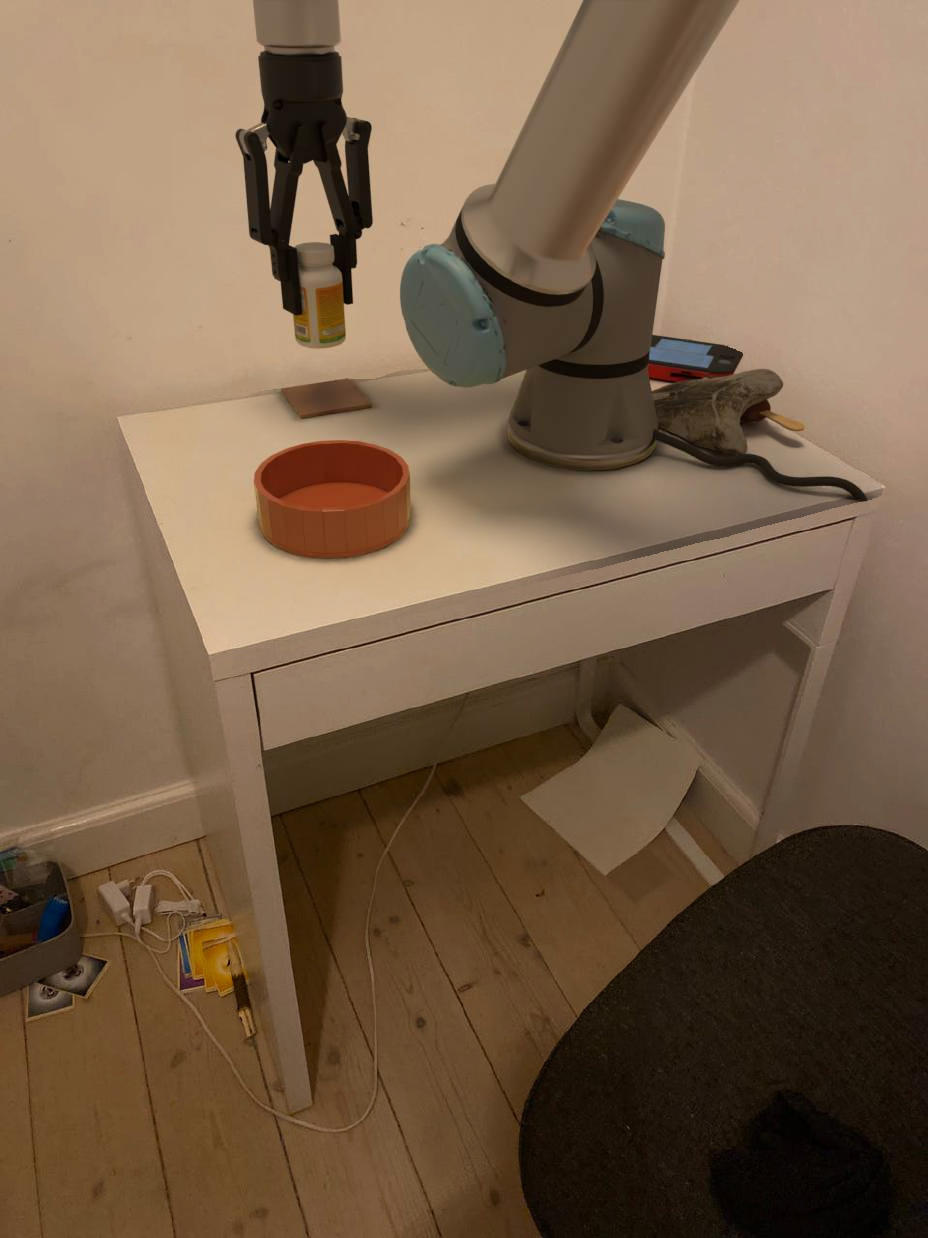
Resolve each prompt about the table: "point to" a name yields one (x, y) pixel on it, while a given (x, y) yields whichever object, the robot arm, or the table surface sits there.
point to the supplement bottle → (319, 298)
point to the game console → (690, 359)
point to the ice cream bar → (765, 414)
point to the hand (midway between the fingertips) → (318, 305)
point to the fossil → (714, 407)
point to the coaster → (325, 398)
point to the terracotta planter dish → (333, 498)
